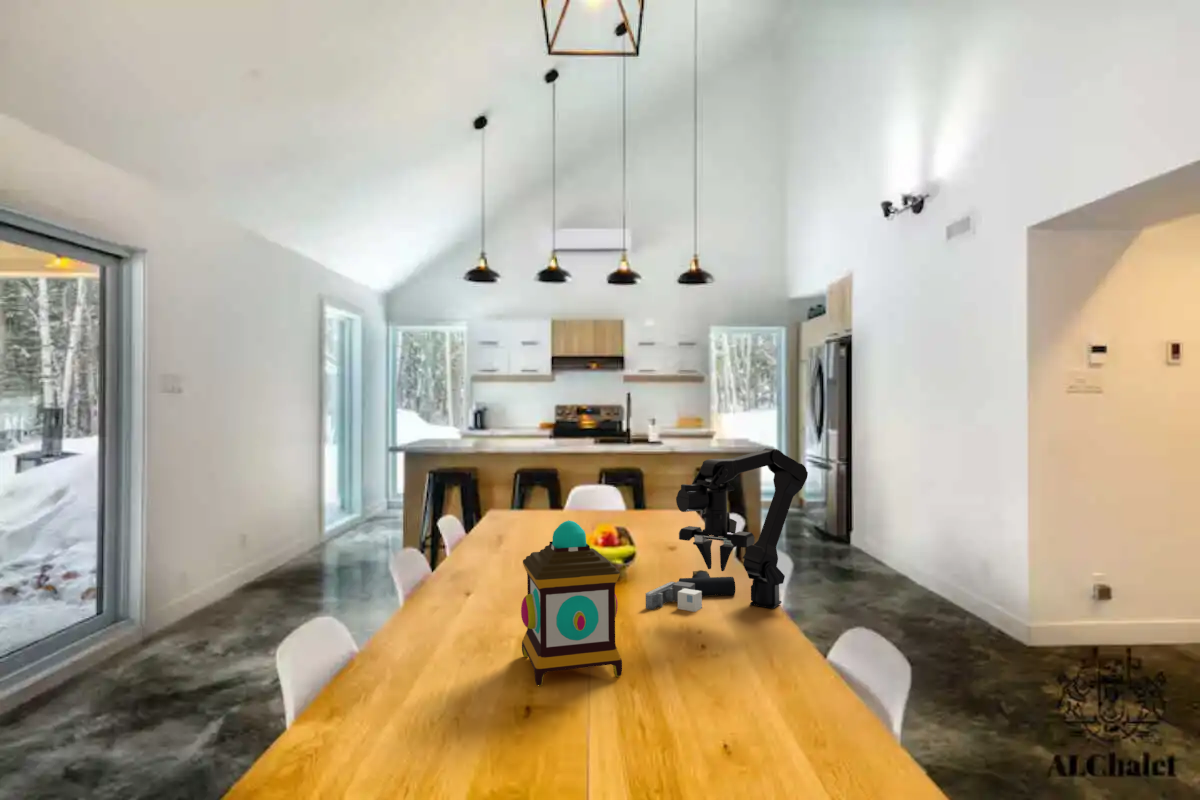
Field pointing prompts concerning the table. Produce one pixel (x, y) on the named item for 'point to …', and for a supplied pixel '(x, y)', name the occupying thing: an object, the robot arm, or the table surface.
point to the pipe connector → (711, 584)
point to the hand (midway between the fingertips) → (716, 570)
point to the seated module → (680, 586)
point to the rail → (660, 596)
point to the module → (689, 599)
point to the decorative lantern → (569, 606)
